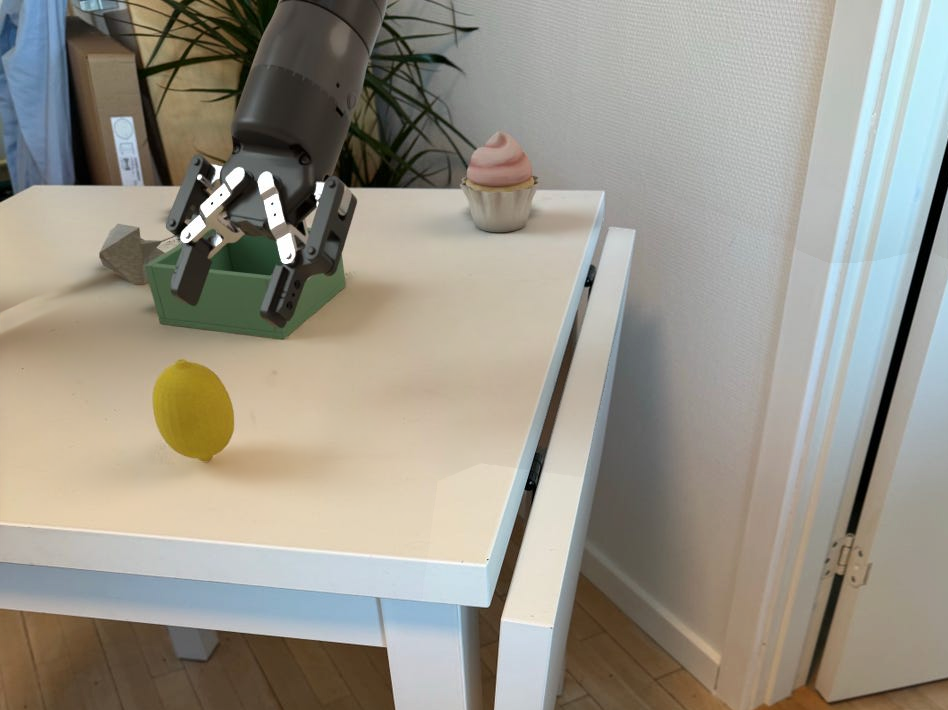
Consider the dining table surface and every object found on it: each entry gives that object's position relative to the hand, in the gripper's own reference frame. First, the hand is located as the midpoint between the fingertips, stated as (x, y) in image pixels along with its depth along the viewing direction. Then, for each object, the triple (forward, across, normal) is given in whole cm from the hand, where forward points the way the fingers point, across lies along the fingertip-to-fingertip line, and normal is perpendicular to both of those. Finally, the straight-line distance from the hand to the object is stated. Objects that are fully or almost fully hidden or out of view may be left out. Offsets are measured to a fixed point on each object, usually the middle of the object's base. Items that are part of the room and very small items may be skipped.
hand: (226, 311), depth 65 cm
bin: (-7, -17, +21) cm, 28 cm away
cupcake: (-30, -7, +44) cm, 53 cm away
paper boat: (-7, -32, +21) cm, 39 cm away
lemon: (+10, 0, +3) cm, 11 cm away
